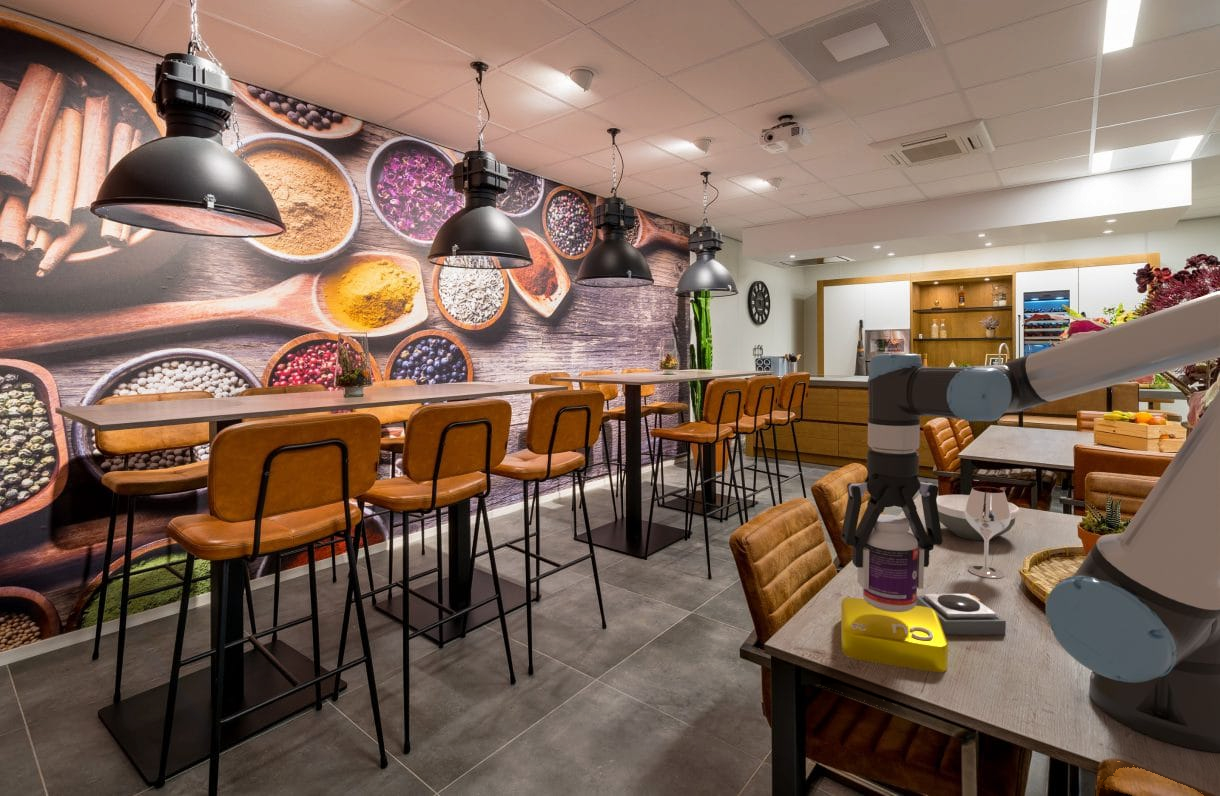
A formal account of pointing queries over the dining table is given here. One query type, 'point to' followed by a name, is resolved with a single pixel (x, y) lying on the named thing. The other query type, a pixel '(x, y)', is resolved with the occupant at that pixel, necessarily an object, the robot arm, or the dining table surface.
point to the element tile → (893, 636)
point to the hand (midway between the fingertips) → (889, 585)
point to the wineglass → (987, 521)
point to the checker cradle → (968, 623)
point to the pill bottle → (892, 565)
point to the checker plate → (959, 607)
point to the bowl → (954, 516)
